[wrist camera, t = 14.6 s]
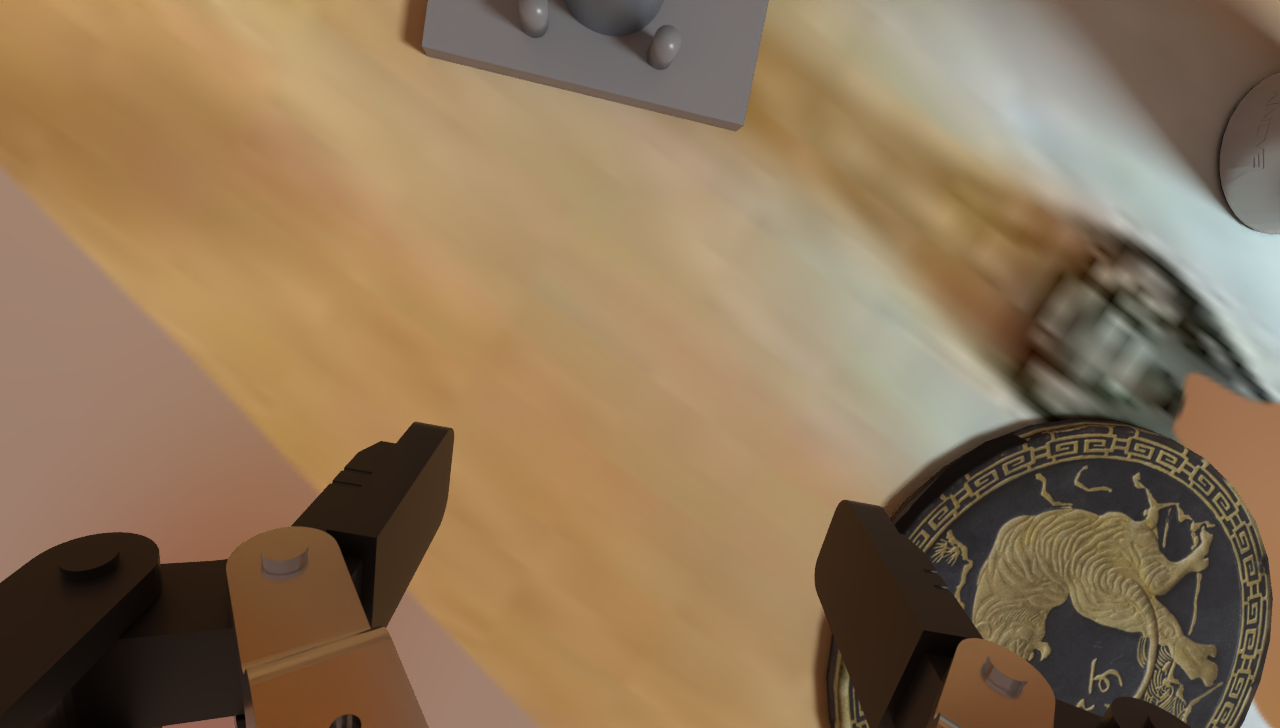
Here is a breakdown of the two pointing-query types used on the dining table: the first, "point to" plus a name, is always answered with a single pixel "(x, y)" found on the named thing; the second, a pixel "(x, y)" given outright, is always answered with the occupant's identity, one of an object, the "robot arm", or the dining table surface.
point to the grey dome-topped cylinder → (614, 14)
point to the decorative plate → (1098, 569)
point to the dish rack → (613, 52)
